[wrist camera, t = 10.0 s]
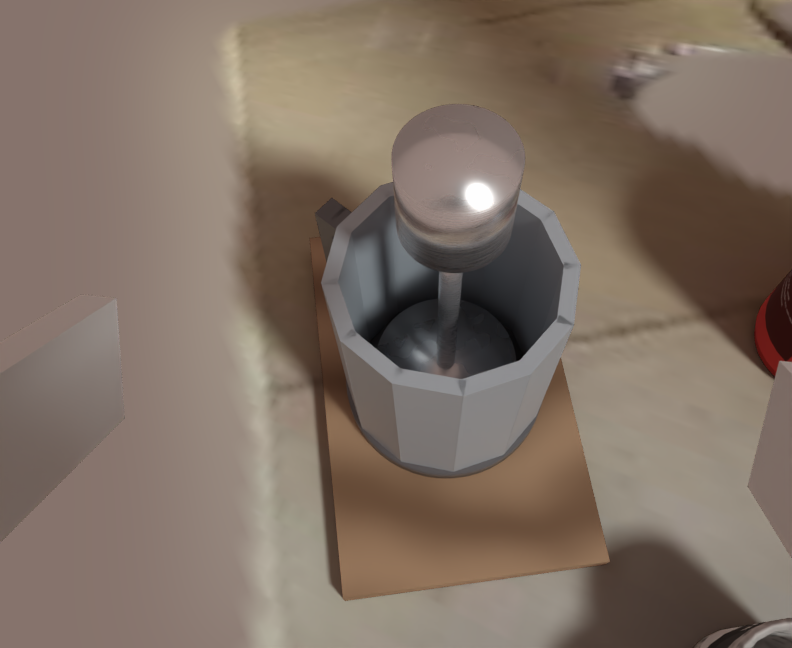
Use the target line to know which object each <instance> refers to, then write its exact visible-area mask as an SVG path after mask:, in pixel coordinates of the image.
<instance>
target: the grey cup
mask: <svg viewBox="0 0 792 648" xmlns="http://www.w3.org/2000/svg"><path fill="white" fill-rule="evenodd" d="M315 216H316V221H317V225H318V229H319V233H320V237H321V242H322V246H323V250H324V254H325V259H326V263H327V264H326V267H325V271H324V274H323V278H322V281H321V285H322V289H323V292H324V296H325V300H326V304H327V308H328V311H329V315H330V319H331V323H332V327H333V331H334V334H335V338H336V342H337V346H338V350H339V353H340V357H341V361H342V365H343V369H344V372H345V376H346V386H347V395H348V399H349V403H350V407H351V411H352V414H353V416H354V419H355V421H356V424H357V426H358V428H359V429H360V431H361V433H362V435H363V436H364V437H365V439H366V440H367V441H368V443H369V444H370V445H371V446H372V447H373V448H374V449H375V450H376V451H377V452H378V453H379V454H380V455H381V456H383V457H384V458H385V459H387V460H388V461H389V462H391V463H393V464H394V465H396V466H398V467H400V468H402V469H404V470H406V471H409V472H411V473H414V474H418V475H422V476H425V477H432V478H460V477H467V476H470V475H474V474H478V473H481V472H483V471H485V470H488V469H490V468H492V467H494V466H496V465H497V464H499V463H501V462H502V461H504V460H505V459H506V458H508V457H509V456H510V455H511V454H513V453H514V451H515V450H516V449H517V448H518V447H519V446H520V445H521V444H522V443H523V441H524V440H525V439H526V437H527V436H528V434H529V433H530V431H531V429H532V427H533V425H534V423H535V421H536V418H537V416H538V413H539V410H540V407H541V404H542V401H543V399H544V396H545V394H546V391H547V389H548V386H549V384H550V382H551V379H552V377H553V374H554V372H555V369H556V367H557V365H558V362H559V360H560V357H561V355H562V353H563V350H564V348H565V345H566V343H567V340H568V338H569V336H570V333H571V331H572V328H573V326H574V319H575V311H576V302H577V294H578V285H579V277H580V269H581V264H580V262H579V260H578V258H577V256H576V254H575V252H574V250H573V248H572V246H571V244H570V242H569V240H568V238H567V236H566V235H565V233H564V231H563V229H562V227H561V225H560V223H559V221H558V219H557V217H556V215H555V213H554V211H552V210H551V209H549V208H548V207H546V206H545V205H543V204H542V203H540V202H539V201H537V200H536V199H534V198H533V197H531V196H530V195H528V194H527V193H525V192H524V191H522V190H521V189H520V192H519V197H518V203H517V208H516V213H515V218H514V223H513V229H512V233H511V237H510V240H509V242H508V244H507V246H506V248H505V249H504V251H503V252H502V253H501V254H500V255H499V256H498V257H497V258H496V259H495V260H494V261H492V262H491V263H489V264H488V265H486V266H484V267H482V268H480V269H477V270H474V271H470V272H465V273H463V276H462V287H461V298H460V300H463V301H467V302H470V303H473V304H475V305H477V306H479V307H481V308H483V309H485V310H486V311H488V312H489V313H491V314H492V315H493V316H494V317H495V318H496V319H497V320H498V321H499V322H500V323H501V324H502V325H503V327H504V328H505V329H506V331H507V332H508V334H509V336H510V338H511V340H512V343H513V346H514V350H515V354H516V362H513V363H510V364H507V365H504V366H501V367H498V368H495V369H492V370H489V371H486V372H483V373H479V374H476V375H473V376H470V377H467V378H464V379H457V378H451V377H446V376H440V375H435V374H429V373H423V372H418V371H412V370H407V369H401V368H399V367H398V366H397V365H396V364H394V363H393V362H392V361H391V360H389V359H388V358H387V357H386V356H384V355H383V354H382V353H381V352H380V351H378V350H377V347H378V344H379V340H380V338H381V336H382V334H383V332H384V331H385V329H386V328H387V326H388V325H389V324H390V322H391V321H392V320H393V319H394V318H395V317H396V316H397V315H398V314H400V313H401V312H402V311H404V310H405V309H407V308H409V307H411V306H413V305H415V304H417V303H420V302H422V301H427V300H431V299H438V292H439V271H435V270H433V269H430V268H427V267H425V266H423V265H421V264H420V263H418V262H417V261H415V260H414V259H413V258H412V257H411V256H410V255H409V254H408V253H407V252H406V251H405V249H404V248H403V246H402V245H401V243H400V240H399V238H398V235H397V230H396V220H395V204H394V189H393V182H391V183H388V184H384V185H381V186H379V187H378V188H377V189H376V190H375V191H374V192H373V193H372V194H371V195H370V196H369V197H368V198H367V199H366V200H365V201H364V202H362V203H361V204H360V205H359V206H358V207H357V208H356V209H355V210H354V211H353V212H350V211H349V210H348V209H346V208H345V207H344V206H342V205H341V204H340V203H338V202H337V201H336V200H334V199H333V198H331V199H330V200H329V201H328V202H327V203H326V204H324V205H323V206H322V207H321V208H320V209H319V210H318V211H317V212H316V213H315Z"/></svg>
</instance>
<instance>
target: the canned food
mask: <svg viewBox="0 0 792 648" xmlns="http://www.w3.org/2000/svg"><path fill="white" fill-rule="evenodd" d="M754 336H755V345H756V348H757V351H758V354H759V356H760V358H761V360H762V361H763V363H764V365H765V366H766V367H767V368H768V370H769V371H770V372H771V373H772V374H773V375H774V376H776V372H777V368H778V364H779V361H786V362H792V270H791V271H790V272H789V273H788V275H787V276H786V277H785V278H784V279H783V280H782V281H781V283H780V284H779V285H778V286H777V287H776V288H775V289H774V291H773V292H772V293H771V294H770V295H769V296H768V298H767V299H766V300H765V302H764V303H763V304H762V306H761V307H760V310H759V312H758V315H757V318H756V324H755V331H754Z"/></svg>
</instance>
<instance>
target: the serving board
mask: <svg viewBox="0 0 792 648" xmlns="http://www.w3.org/2000/svg"><path fill="white" fill-rule="evenodd" d="M310 248H311V259H312V269H313V280H314V291H315V302H316V313H317V324H318V335H319V345H320V356H321V367H322V378H323V389H324V400H325V410H326V421H327V432H328V443H329V454H330V465H331V476H332V486H333V497H334V508H335V519H336V530H337V541H338V551H339V562H340V573H341V584H342V595H343V599H344V600H345V601H348V600H355V599H362V598H369V597H376V596H384V595H391V594H398V593H405V592H412V591H420V590H427V589H434V588H441V587H448V586H456V585H463V584H470V583H477V582H484V581H491V580H499V579H506V578H513V577H520V576H527V575H535V574H542V573H549V572H556V571H563V570H571V569H578V568H585V567H592V566H599V565H605V564H607V563H608V562H610V560H609V556H608V551H607V547H606V543H605V539H604V535H603V531H602V526H601V522H600V518H599V514H598V510H597V506H596V502H595V497H594V493H593V489H592V485H591V481H590V477H589V473H588V468H587V464H586V460H585V456H584V452H583V448H582V444H581V439H580V435H579V431H578V427H577V423H576V419H575V415H574V410H573V406H572V402H571V398H570V394H569V390H568V386H567V381H566V377H565V373H564V369H563V365H562V361H561V357H560V360H559V362H558V365H557V367H556V369H555V372H554V374H553V377H552V379H551V382H550V384H549V386H548V389H547V391H546V394H545V396H544V399H543V401H542V404H541V407H540V410H539V413H538V416H537V418H536V421H535V423H534V425H533V427H532V429H531V431H530V433H529V434H528V436H527V437H526V439H525V440H524V441H523V443H522V444H521V445H520V446H519V447H518V448H517V449H516V450H515V451H514V453H513V454H511V455H510V456H509V457H508V458H506V459H505V460H504V461H502V462H501V463H499V464H497V465H496V466H494V467H492V468H490V469H488V470H485V471H483V472H481V473H478V474H474V475H470V476H467V477H460V478H432V477H425V476H422V475H418V474H414V473H411V472H409V471H406V470H404V469H402V468H400V467H398V466H396V465H394V464H393V463H391V462H389V461H388V460H387V459H385V458H384V457H383V456H381V455H380V454H379V453H378V452H377V451H376V450H375V449H374V448H373V447H372V446H371V445H370V444H369V443H368V441H367V440H366V439H365V437H364V436H363V435H362V433H361V431H360V429H359V428H358V426H357V424H356V421H355V419H354V416H353V414H352V411H351V407H350V403H349V399H348V395H347V386H346V376H345V372H344V369H343V365H342V361H341V357H340V353H339V350H338V346H337V342H336V338H335V334H334V331H333V327H332V323H331V319H330V315H329V311H328V308H327V304H326V300H325V296H324V292H323V289H322V285H321V281H322V278H323V274H324V271H325V267H326V264H327V263H326V259H325V254H324V250H323V246H322V242H321V237H315V238H310Z"/></svg>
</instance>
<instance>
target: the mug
mask: <svg viewBox="0 0 792 648" xmlns="http://www.w3.org/2000/svg"><path fill="white" fill-rule="evenodd" d="M693 648H792V618H786V619H780V620H774V621H769V622H763V623H757V624H752V625H746V626H741V627H735V628H730V629H724V630H718V631H716V632H714V633H712V634H710V635H708V636H706V637H704V638H703V639H702V640H701V641H699V642H698V643H697V644H696V645H695V646H694V647H693Z"/></svg>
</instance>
